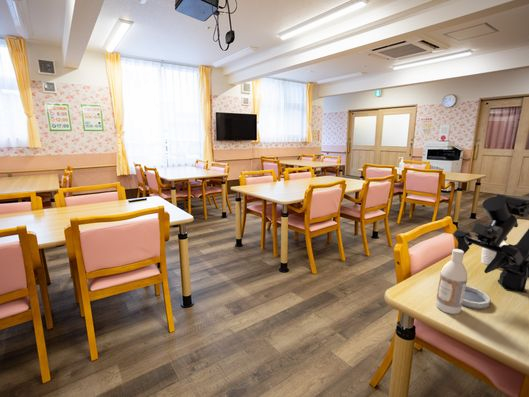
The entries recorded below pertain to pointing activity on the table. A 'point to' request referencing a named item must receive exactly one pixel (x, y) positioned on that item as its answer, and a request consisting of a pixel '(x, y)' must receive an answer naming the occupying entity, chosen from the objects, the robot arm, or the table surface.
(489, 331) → the table surface
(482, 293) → the round grey tray
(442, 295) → the bath foam
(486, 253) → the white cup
